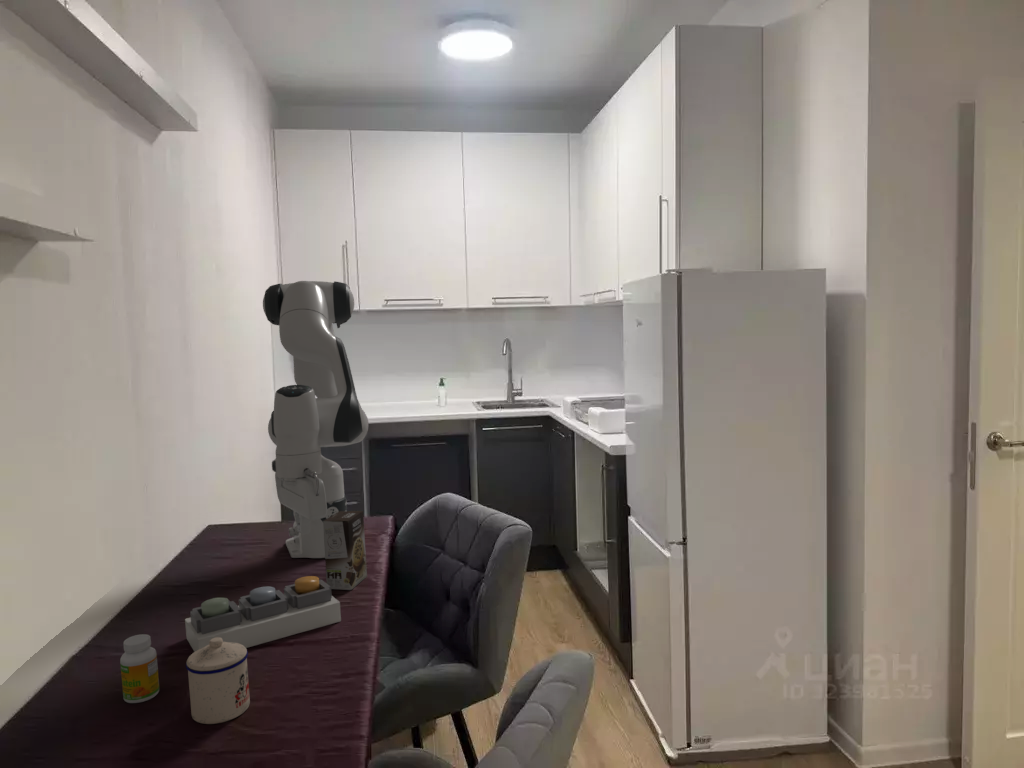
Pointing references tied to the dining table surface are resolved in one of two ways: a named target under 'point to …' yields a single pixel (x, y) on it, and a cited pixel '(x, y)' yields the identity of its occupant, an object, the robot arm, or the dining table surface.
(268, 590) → the slate button
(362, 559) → the coffee box
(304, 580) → the orange button
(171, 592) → the dining table surface
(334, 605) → the button console
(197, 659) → the teacup with lid
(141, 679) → the supplement bottle
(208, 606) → the sage button
